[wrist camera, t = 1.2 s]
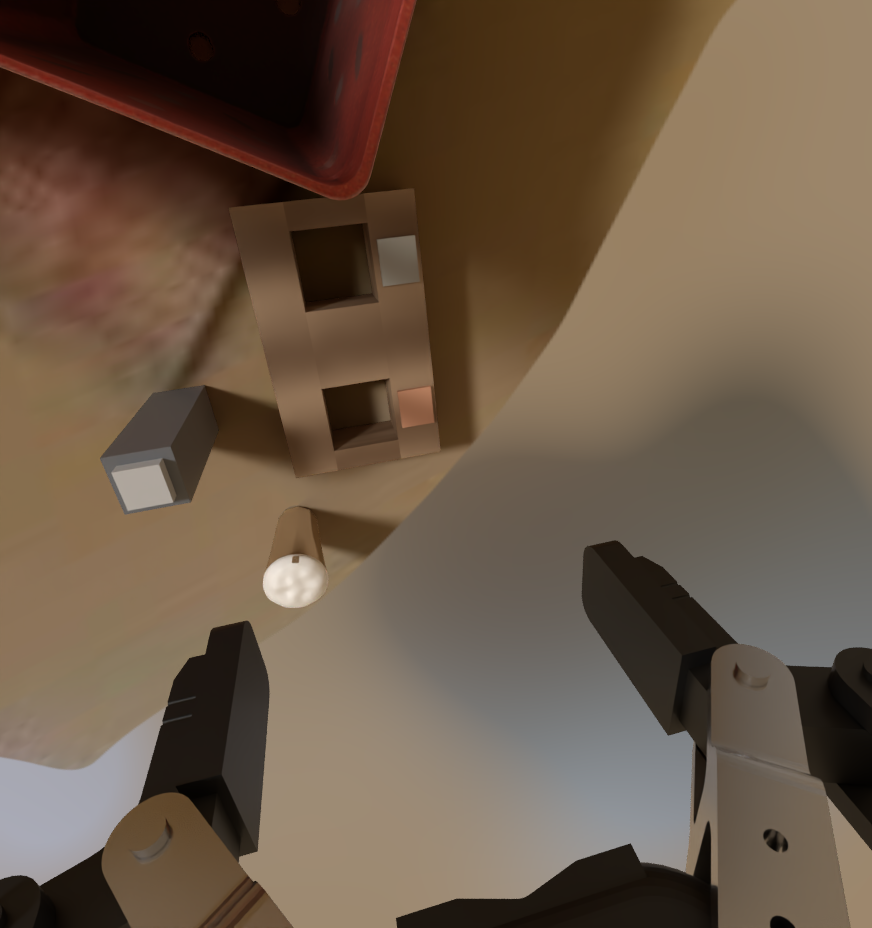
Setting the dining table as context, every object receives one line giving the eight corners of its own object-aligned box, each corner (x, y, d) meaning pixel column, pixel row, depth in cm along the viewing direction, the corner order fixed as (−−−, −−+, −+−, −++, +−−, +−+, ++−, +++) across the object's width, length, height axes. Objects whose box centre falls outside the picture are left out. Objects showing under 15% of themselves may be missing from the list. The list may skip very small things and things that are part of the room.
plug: (152, 393, 38) (94, 464, 27) (204, 385, 38) (166, 452, 28) (169, 438, 39) (120, 522, 29) (218, 430, 40) (188, 509, 29)
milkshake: (325, 490, 44) (330, 561, 35) (324, 543, 46) (328, 622, 37) (269, 490, 43) (259, 563, 34) (270, 545, 45) (261, 627, 36)
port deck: (236, 207, 34) (227, 207, 30) (403, 189, 35) (414, 187, 32) (296, 455, 42) (295, 479, 38) (429, 431, 44) (441, 453, 40)
